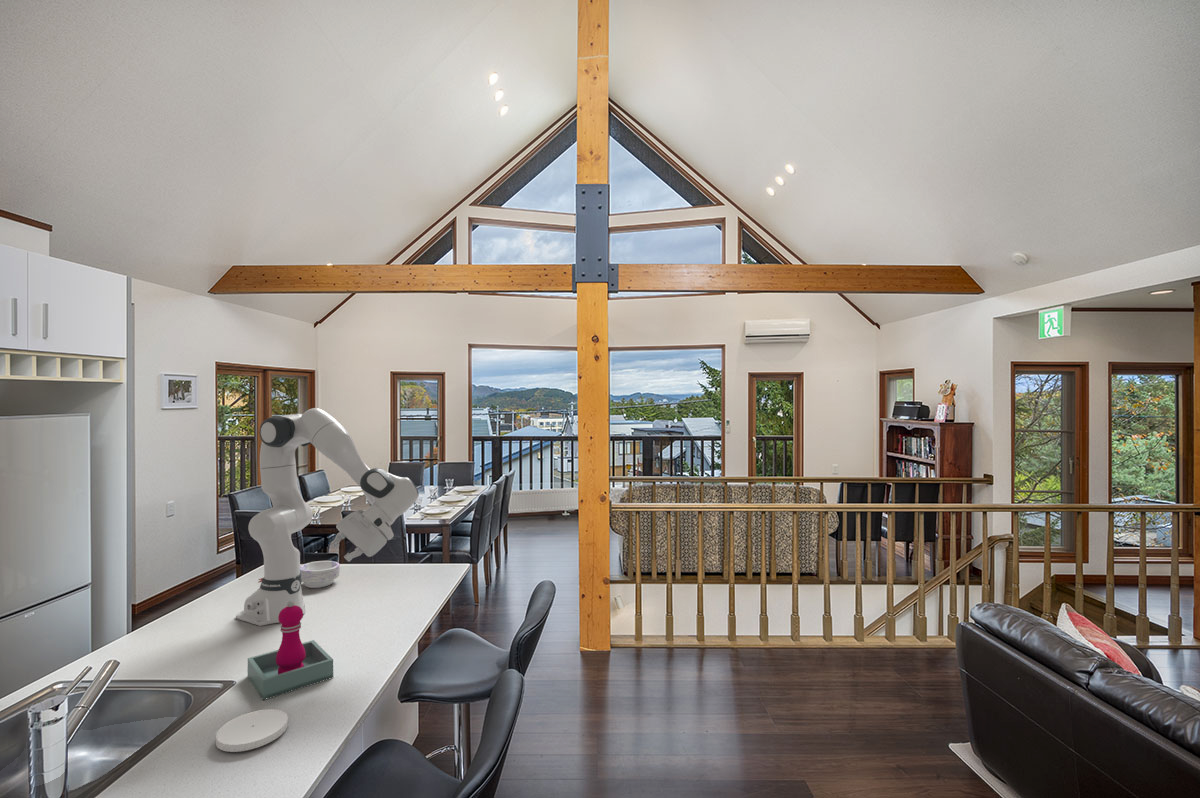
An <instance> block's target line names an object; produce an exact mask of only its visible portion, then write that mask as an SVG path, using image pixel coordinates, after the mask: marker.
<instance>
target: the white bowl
mask: <svg viewBox="0 0 1200 798" xmlns="http://www.w3.org/2000/svg"><path fill="white" fill-rule="evenodd" d="M340 567H341V565H340V563H339V562H337V561H333V560H318V561H311V562H307V563H304V564H302V565H300V573H301V576H302V578H301V579H302V583H303V584H304V586H305V587H307V588H309V589H310V588H311V589H319V588H325V587H328V586H330V585H332V584H333V583H334V581H335V580H336V579H337V578H339V577H340V571H341V569H340Z"/></svg>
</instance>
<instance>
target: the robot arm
mask: <svg viewBox="0 0 1200 798" xmlns="http://www.w3.org/2000/svg"><path fill="white" fill-rule="evenodd" d="M259 438H260V440H261V444H260V452H259V471H260V484H261V485H260V487H261V490H262V492H263V493H264V494H266V495H267V496H268V497H269V499H270V501H271V504H272V507H270V508H267V509H264V510H261V511H260V512H258V513H257V514H255V515H254V516H253V517H252V518H251V519H250V521H249V523H248V528H247V529H248V533H249V535H250V538H253V540H254V541H256V542H257V543H258V544H259V547H260V549H261V551H262V556H263V572H264V573H263V576H264V577H261V578H259V579H258V581H257V583H258V584H259V583H260V586H259V588H258V589H256V591H254V592H253V593H252V594H250V595H249V596H248V597H246V599H245V601H244V605H243V610H241V611H240V612H238V613H237V614H236V615H235V619H236V620H240V621H243V622H247V623H250V624H253V625H256V626H260V627H261V626H266V625H267V626H268V625H271V624H281V623H280V622H279V620H278V617H279V613H280V611H281V610H282V609H283V608H285V607H287V603H288V602H289V601H294V605H296V606H299V607H300V608H301V609H302V611H303V615H305V614H306V609H305V607H306V605H305V603H304V597H303V590H302V586H301V585H302V583H303V582H302V579H301V578H302V576H301V573H300V566H301V552H300V550H299V549H298V548H297V547H295V546H294V544H293V541H292V534H294V533H296V532H298V533H299V532H300V531H302V530H303V529H304V528H305V527H307V526H308V525H309V524H310V523H311V522H312V519H313V516H314V514H313V513H314V512H313V509H312V507H311V506H310V505H309V504H308V503H307V502H306V501H305V500H304V498H303V496H302V494H301V491H300V488H299V483H298V475H297V463H296V462H297V461H296V450H297V449H298V447H300V446H301V447H306V446H308V445H310V444H311V445H312V446H313V447H314V448H315V449H316V450H317V451H318V452H320V453H321V455H323V456H325V457H326V458H327V459H329V460H330V461H331V462H333V463H334V464H336V465H337V466H338V467H339V468H341V469H342V470H343V471H345V473H347V474H348V476H350V477H351V479H352V480H354V482H355V483H356V484H357V485H358V486H359V487H360V489H361V491H362V493H363V495H364V496H365V498H366V501H367V503H368V505H369V507H368V508H366V509H365V510H363V509H359V510H355V511H352V512H350V513H349V514H347V515H346V516H344V517H343V518H342V519H341V520H339V521H338V522H337V523H336V525H335V526H336V529H337V530H338V531H339V532H338V533H336V536H335V537H334V539H333V540H332V541H331V542H330V546H331V548H333V549H337V547H339V546H340V542H341V541H342V540H345V538H347V539H348V540H349V541H350V542H351V543H352V544H353V545H354V546H355V548H354V550H353V551H352V552H350V553H349V552H347V553H346V554H345V555H343V558H344V559H345V560H346V561H347V562H351V561H352V560H354V559H355V558H358V557H361V555H362V554H364V555H366V556H367V558H370V557H374V556H375V555H376V554H377V553H378V552H379V551H381V549H383V547H384V546H385V545H386V544H387V543H388V541H390V540H392V539H394V535H395V534H394V532H393V529H392V527H391V526H392V525H393V524H394V523H395V521H396V520H397V518H399V517H400V516H402V515H403V514H405V513H406V512H407V511H408V510H409V509H410V508H411V507H412V506H413V505H414V503H416V501H417V500H418V499H419V493H420V492H419V490H418V487H417V486H416V484H415V483H414V482H413V480H412V479H410V478H409V477H407V476H406V477H405V476H404V477H402V476H399V475H395V474H392V473H390V472H388V471H386V470H385V469H383V468H378V467H375V468H374V467H373V468H370V467H369V466H368V464H366V463H365V461H364V460H363V458H362V457H361V454H360V453H359V450H358V449H357V446H356V444H355V441H354V440H353V438H352V437H351V434H350V433H349V432H348V430H347V429H346V428H345V427H344V426H343V424H341V423H340V421H339V420H337V419H336V418H335V417H334V416H333V415H332V414H330V413H329V412H327V411H326V410H324V409H321V408H318V407H313V408H312V407H311V408H310V409H306V411H304V412H303V413H290V414H284V415H275V416H270V417H268V418H266V419H264V420H263V421H262V422H261V425H260V426H259Z"/></svg>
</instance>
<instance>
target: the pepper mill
mask: <svg viewBox="0 0 1200 798" xmlns="http://www.w3.org/2000/svg"><path fill="white" fill-rule="evenodd" d="M303 616H304V614H303V611H302V609H301V608H300V607H299V606H296V605H294V601H289V602H288V603H287V607H285V608H283V609H282V610H281V611H280V613H279V617H278V620H279V622H280V623H279V624H281V625H280V630H279V631H280V632H281V633H282V637H281V642H280V644H279V647H278V649H277V650H278V652H277V656H276V664H277V665H278V666H279V668H278V674H281V673H285V672H288V671H291V670H295V669H298V668H301V667H304V664H303V663H302V662H303V660H304V659H305V657H306V654H305V649H304V646H303V644H302V643H303V642H302V640H301V638H300V637H301V636H300V629H302V626H301V624H302V622H301V621H302V619H303Z"/></svg>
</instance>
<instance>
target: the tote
mask: <svg viewBox="0 0 1200 798" xmlns="http://www.w3.org/2000/svg"><path fill="white" fill-rule="evenodd" d="M302 644H303V646H304V649H305V654H306V657H305V659H304V660H303V662H302V663H303V664H304V667H301V668H298V669H295V670H291V671H288V672H285V673H281V674H278V668H279V666H278V665H277V664H276V656H277V652H278V650H279V649H277V650H273V651H269V652H265V653H262V654H257V655H255V656H250V657H248V658H247V678H248V677H249V678H248V679H249V681H250V680H251V681H250V683H251V684H252V683H253V684H252V685H253V687H254V686H255V687H254V689H255V690H256V689H257V690H256V691H258V692H259V693H258V692H257V693H258V694H260V695H259V696H260V697H262V698H263V699H266V698H269V699H271V698H270V697H272V698H274V697H273V696H275V697H277V696H276V695H278V696H280V694H281V695H283V694H282V693H284V694H286V692H287V693H290V692H292V691H291V690H293V691H296V690H295V689H297V690H299V689H298V688H300V689H302V688H301V687H303V688H305V687H304V686H306V687H308V686H307V685H309V686H311V685H310V684H312V685H315V684H317V682H318V683H321V682H324V681H327V680H330V679H329V678H331V679H333V678H334V659H333V657H332V656H331V655H329V654H328V653H327V651H326V650H324V649H323V648H322V647H321V646H320V644H318V643H317V642H316V641H315V639H312V640H309V641H305V642H302ZM332 677H333V678H332ZM326 679H327V680H326ZM323 680H324V681H323ZM320 681H321V682H320ZM314 683H315V684H314ZM289 691H290V692H289ZM262 698H261V699H262ZM263 699H262V700H263ZM266 700H267V699H266Z"/></svg>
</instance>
